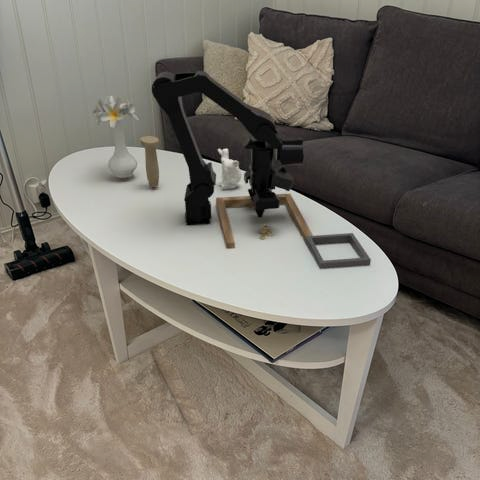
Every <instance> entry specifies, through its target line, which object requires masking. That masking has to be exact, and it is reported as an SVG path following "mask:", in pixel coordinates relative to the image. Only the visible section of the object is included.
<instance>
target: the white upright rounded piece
mask: <svg viewBox="0 0 480 480" xmlns="http://www.w3.org/2000/svg"><path fill="white" fill-rule="evenodd" d="M217 152H218V153H219V155H221V157H220V161H221V170H222V171H221V181H220V182H218V186H221V187H222V189H223V190H228V189H230V190H231V189H236V188H237V185H236V184H239V183H240V182H241V179H242V171H241V169H240V167H239V165H240V162H239V161H238V160H233V159H230V157H229V149H228V148H223V149H221V148H218V149H217Z"/></svg>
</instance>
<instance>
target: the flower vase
mask: <svg viewBox="0 0 480 480" xmlns="http://www.w3.org/2000/svg"><path fill="white" fill-rule="evenodd" d="M97 100H98V101H97V103H96V104H95V109H93V110H92V114H96V116H95V118H94V120H95V122H96V128H98V127H99V125H100V123H101V122H108V121H109V126H110V128H111V129H112V130H113V136H114V138H113V139H114V151H113V155H112V156H111V157H110V158H109V159H108V162H107V167H108V170H110V172H111V173H113V174H114V176H115V177H116V178H122V179H123V178H130V177H131V176H133V175H134V172H135V170H136V169H137V168H138V161H137V159H136V158H135V157H134V156H133V155H132V154H131V153H130V152H129V150H128V148H127V145H126V138H125V133H124V120H125V115H128V116H129V117H131V118H133V119H134V120H136V121H138V122H139V121H140V120H139V118H138V116H137V115H136V114H135V112H136V108H135V107H134V105H133V103H131V102H130V100H129V98H128V97H126V102H125V103H124V102H123V99H122V98H121V97H120V96H119V97H116V99H115V97H114V96H113V95H110V96H109V95H107V96H106V97H105V100H104V99H103V98H102V97H100V98H98V99H97ZM115 100H116V101H115Z"/></svg>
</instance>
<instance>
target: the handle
mask: <svg viewBox="0 0 480 480" xmlns="http://www.w3.org/2000/svg"><path fill="white" fill-rule="evenodd" d="M140 144H141V146H142V147H144V155H145V172H146V179H147V182H148V183H147V185H148V186H149V187H150V188H151V187H153V188H156V187H159V184H160V168H159V167H160V166H159V161H158V156H157V155H158V153H157V147H158V146H159V145H160V142H159V138H158V137H156V136H152V135H146V136H142V137H140Z"/></svg>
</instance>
